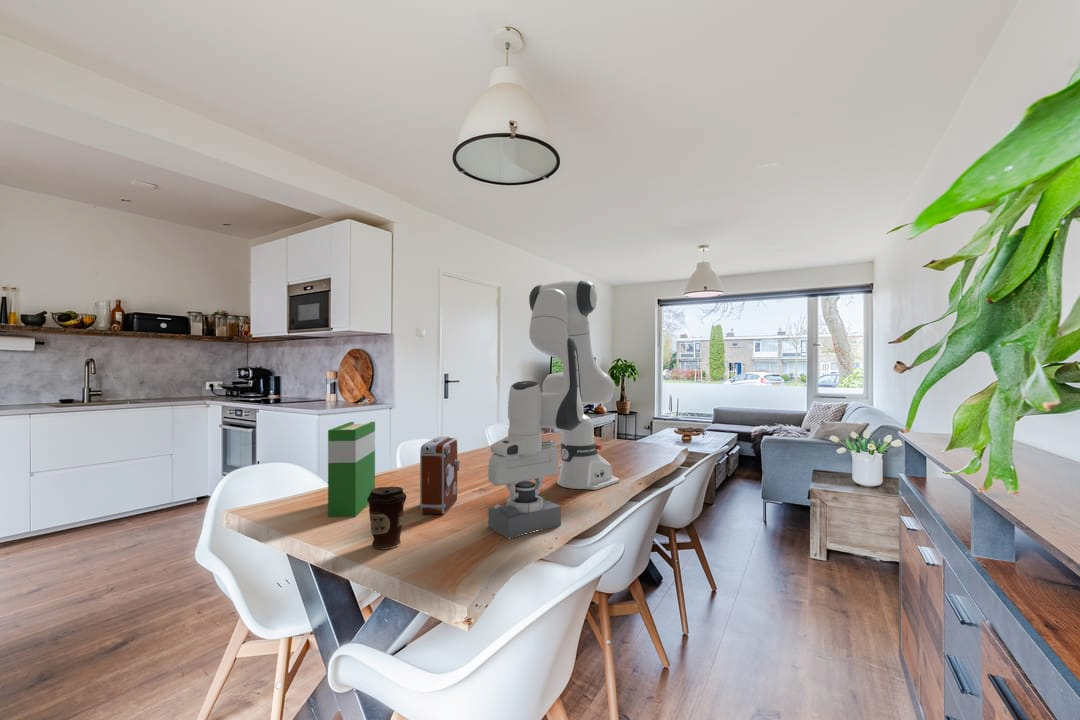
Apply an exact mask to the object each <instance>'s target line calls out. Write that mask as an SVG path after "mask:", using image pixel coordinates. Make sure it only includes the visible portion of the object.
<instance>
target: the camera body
mask: <svg viewBox="0 0 1080 720" xmlns="http://www.w3.org/2000/svg"><path fill="white" fill-rule="evenodd" d="M487 516H488V519H487V520H488V525H487V526H488V528H489V529H491V530H493V531H495V532H496V533H498V534H499V533H500V535H501V534H502V535H501V536H503V537H505V536H506V537H507V538H506V537H505V538H506V539H508V538H512V537H515V536H518V535H522V534H525V533H530V532H533V531H536V530H541V529H545V528H549V529H551V528H550V527H552V528H555V527H554V526H556V527H559V526H562V506H561V505H559V504H557V503H554V502H553V501H550V500H547V499H545V498H543V497H542V496H539V495H535V502H532V503H516V502H515V500H512V499H511V498H510V496H509V497H508V498H506V503H504V504H494V506H489V507H488V515H487ZM545 530H546V529H545ZM541 531H542V530H541ZM530 534H531V533H530ZM515 538H516V537H515ZM512 539H513V538H512Z"/></svg>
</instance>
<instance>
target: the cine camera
mask: <svg viewBox="0 0 1080 720" xmlns="http://www.w3.org/2000/svg"><path fill="white" fill-rule="evenodd" d="M419 452H420V456H419V462H420V463H419V465H420V467H419V469H420V471H419V472H420V473H419V475H420V478H419V479H420V481H419V483H420V484H419V486H420V489H419V493H420V495H419V496H420V498H419V499H420V500H419V502H420V503H419V504H420V505H419V506H420V513H421V514H423V515H424V514H425V515H426V514H428V515H444V514H446V513H448V511H449V510H450V509H451V508H452V507H453V505H455V503H457V500H458V472H459V471H460V463H461V461H460V460H458V440H457V439H456V438H455V437H450V436H438V437H434V438H433V439H431V440H428V441H427V442H425V443H423V444H422V445H421V447H420V451H419Z"/></svg>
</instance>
